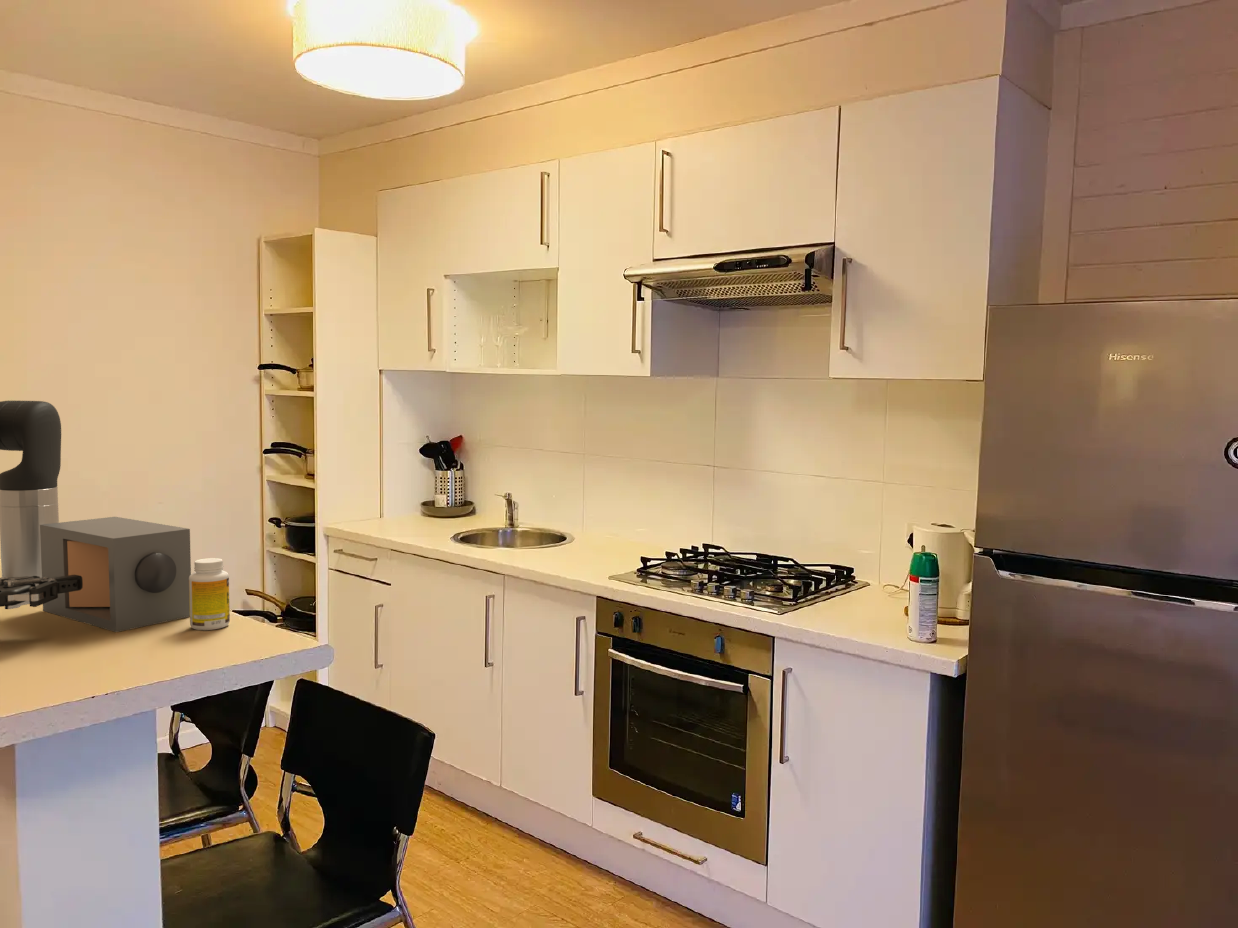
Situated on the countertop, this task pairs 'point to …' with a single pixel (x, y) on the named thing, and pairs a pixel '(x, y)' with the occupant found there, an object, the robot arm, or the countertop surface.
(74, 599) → the door
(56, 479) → the robot arm
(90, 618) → the housing
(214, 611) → the supplement bottle
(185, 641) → the countertop surface
